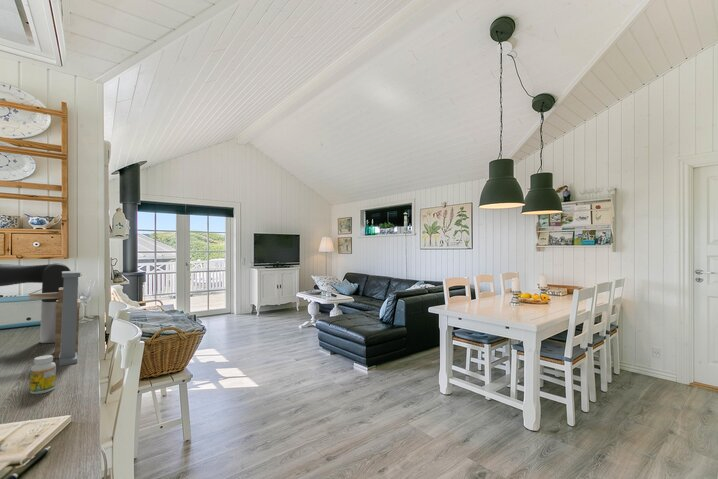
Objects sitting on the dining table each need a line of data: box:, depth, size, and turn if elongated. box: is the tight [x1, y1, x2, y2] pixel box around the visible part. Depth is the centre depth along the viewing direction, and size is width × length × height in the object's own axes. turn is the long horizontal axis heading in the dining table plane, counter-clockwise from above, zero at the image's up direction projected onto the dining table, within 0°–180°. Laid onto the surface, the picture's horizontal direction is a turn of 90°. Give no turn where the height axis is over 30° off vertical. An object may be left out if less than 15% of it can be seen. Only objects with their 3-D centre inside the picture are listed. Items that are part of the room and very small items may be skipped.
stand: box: [57, 270, 81, 367], centre depth 124 cm, size 10×5×32 cm, turn 40°
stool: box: [53, 298, 81, 359], centre depth 132 cm, size 10×7×20 cm
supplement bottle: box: [29, 354, 57, 395], centre depth 99 cm, size 5×5×10 cm
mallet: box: [28, 287, 63, 303], centre depth 129 cm, size 8×13×5 cm, turn 130°
